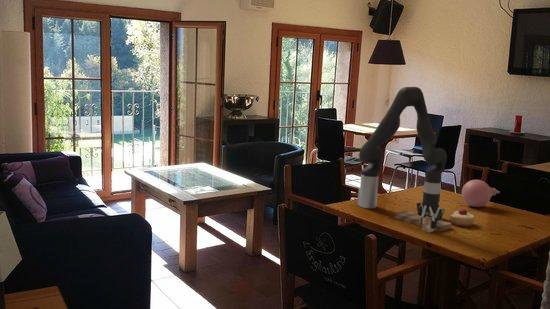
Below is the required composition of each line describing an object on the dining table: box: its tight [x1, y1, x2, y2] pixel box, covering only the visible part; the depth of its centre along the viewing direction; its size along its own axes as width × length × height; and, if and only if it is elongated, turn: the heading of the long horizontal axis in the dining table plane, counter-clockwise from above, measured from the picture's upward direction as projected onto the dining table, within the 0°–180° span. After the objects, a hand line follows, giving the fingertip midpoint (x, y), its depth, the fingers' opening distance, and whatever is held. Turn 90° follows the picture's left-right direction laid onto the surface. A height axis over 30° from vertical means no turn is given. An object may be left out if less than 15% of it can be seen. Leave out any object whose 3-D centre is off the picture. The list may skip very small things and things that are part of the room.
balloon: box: [461, 179, 501, 208], centre depth 294 cm, size 15×20×15 cm
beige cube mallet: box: [421, 216, 440, 233], centre depth 248 cm, size 4×10×6 cm, turn 130°
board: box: [393, 210, 453, 233], centre depth 258 cm, size 26×10×2 cm, turn 39°
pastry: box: [448, 206, 476, 228], centre depth 259 cm, size 12×12×9 cm
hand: (428, 226), depth 246 cm, fingers open, 4 cm apart
